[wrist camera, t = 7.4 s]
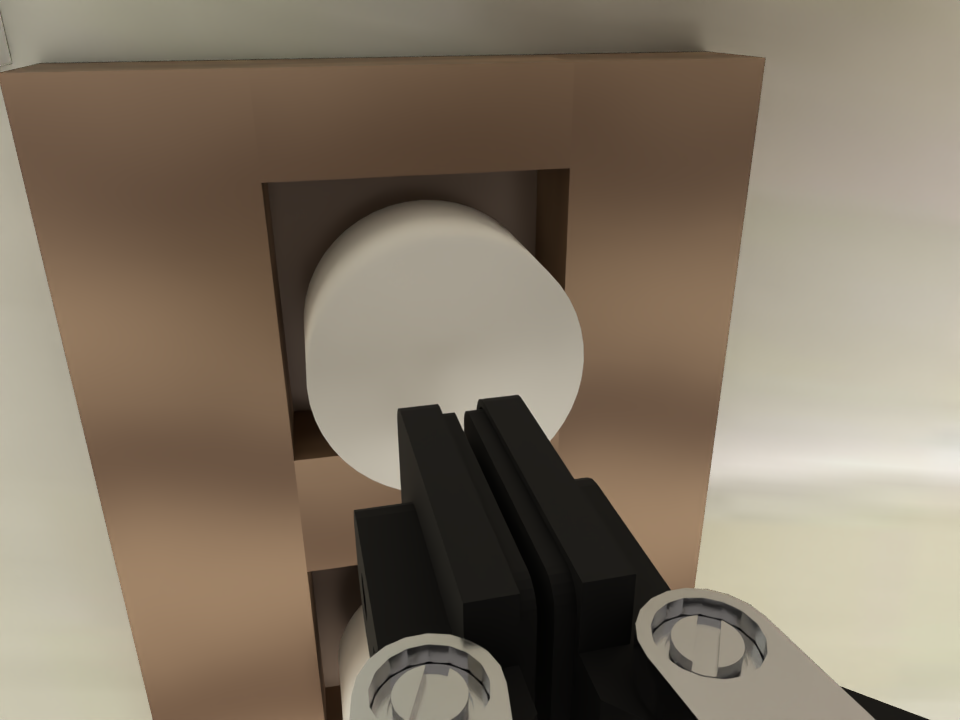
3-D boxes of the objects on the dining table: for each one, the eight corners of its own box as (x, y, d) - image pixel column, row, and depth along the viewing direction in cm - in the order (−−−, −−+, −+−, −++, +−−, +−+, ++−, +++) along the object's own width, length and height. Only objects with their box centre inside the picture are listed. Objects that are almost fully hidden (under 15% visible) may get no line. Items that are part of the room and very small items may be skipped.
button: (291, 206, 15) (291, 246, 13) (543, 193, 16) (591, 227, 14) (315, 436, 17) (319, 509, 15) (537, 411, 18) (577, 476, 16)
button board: (40, 63, 15) (-3, 73, 13) (706, 51, 18) (765, 57, 16) (232, 944, 27) (227, 1029, 25) (621, 855, 29) (649, 925, 27)
